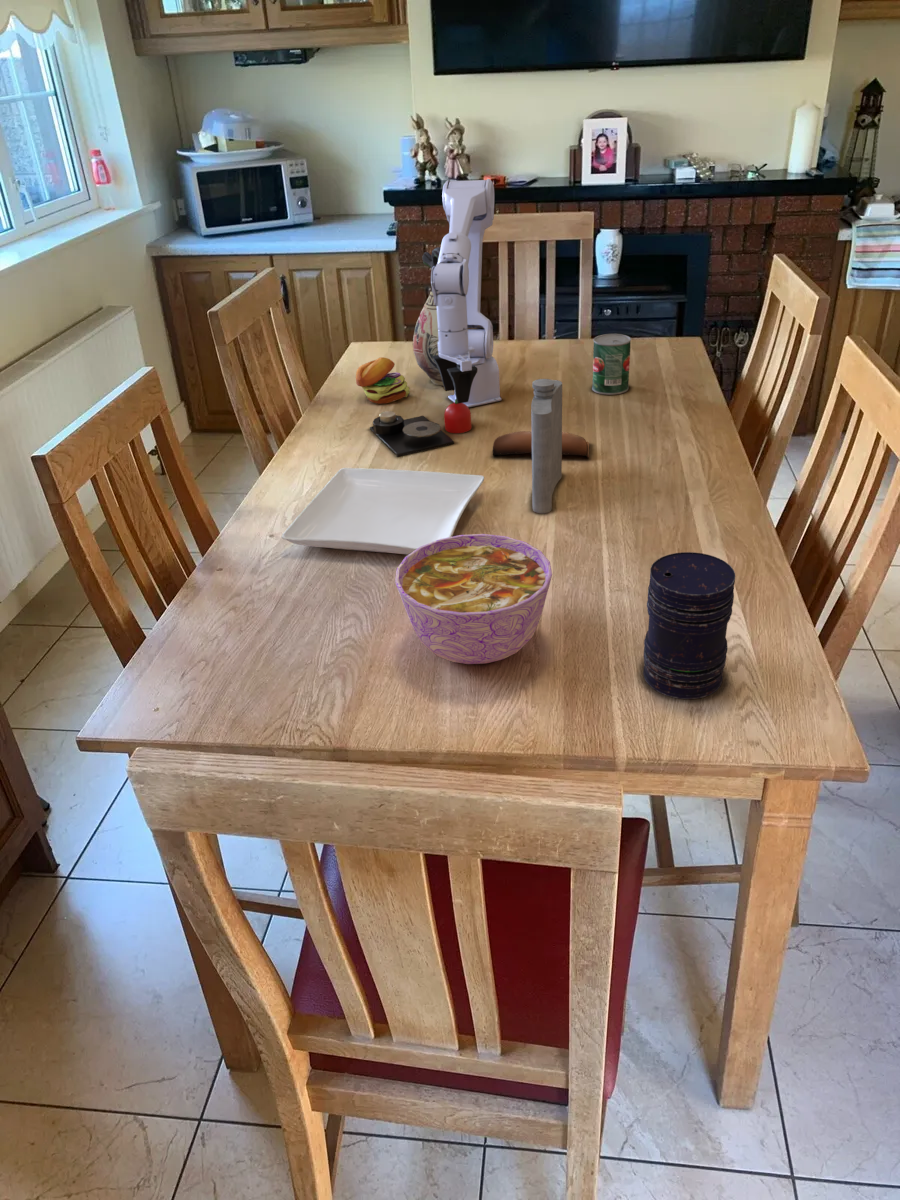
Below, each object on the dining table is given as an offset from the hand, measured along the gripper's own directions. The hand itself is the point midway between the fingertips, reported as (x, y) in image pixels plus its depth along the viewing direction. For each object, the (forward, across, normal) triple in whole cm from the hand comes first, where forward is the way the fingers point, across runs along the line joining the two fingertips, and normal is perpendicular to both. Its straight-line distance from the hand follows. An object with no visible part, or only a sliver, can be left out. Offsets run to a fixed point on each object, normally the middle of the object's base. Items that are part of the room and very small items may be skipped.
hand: (456, 396), depth 184 cm
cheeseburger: (+7, +24, +9) cm, 27 cm away
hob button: (+5, +4, +13) cm, 15 cm away
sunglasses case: (+7, -18, -10) cm, 22 cm away
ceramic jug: (+7, +28, -8) cm, 30 cm away
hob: (+7, 0, +10) cm, 12 cm away
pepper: (+7, 0, 0) cm, 7 cm away
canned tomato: (+7, +6, -38) cm, 39 cm away
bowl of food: (+7, -73, +23) cm, 77 cm away
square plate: (+7, -34, +24) cm, 42 cm away
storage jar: (+7, -89, +2) cm, 90 cm away
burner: (+5, -2, +8) cm, 10 cm away
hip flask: (+7, -35, -4) cm, 36 cm away
